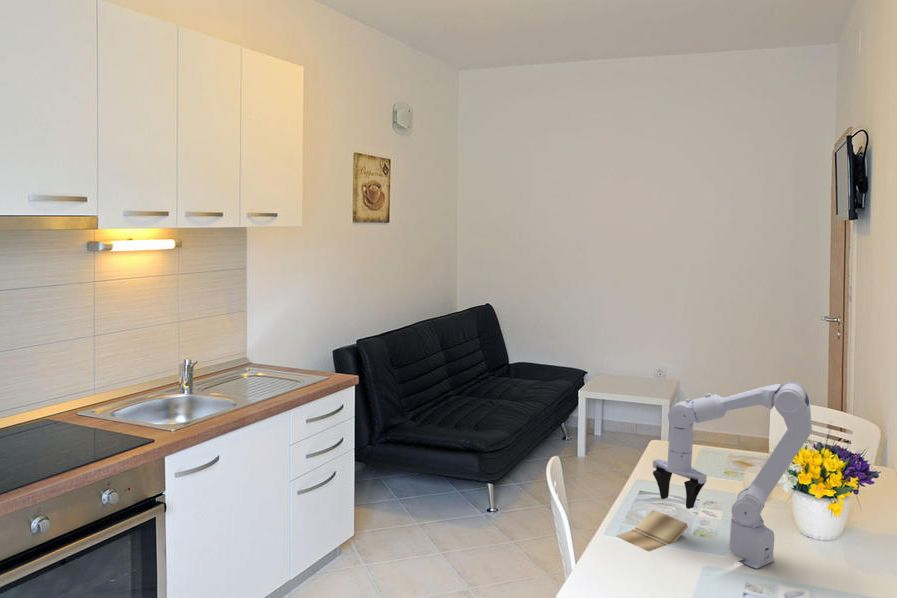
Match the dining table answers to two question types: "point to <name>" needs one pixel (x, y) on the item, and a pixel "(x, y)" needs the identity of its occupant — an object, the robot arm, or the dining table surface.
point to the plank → (662, 527)
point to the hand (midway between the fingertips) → (676, 502)
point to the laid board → (641, 540)
